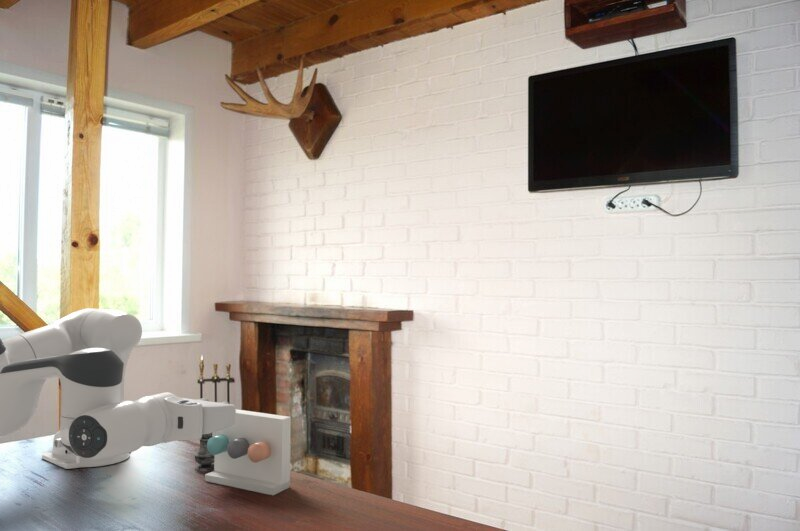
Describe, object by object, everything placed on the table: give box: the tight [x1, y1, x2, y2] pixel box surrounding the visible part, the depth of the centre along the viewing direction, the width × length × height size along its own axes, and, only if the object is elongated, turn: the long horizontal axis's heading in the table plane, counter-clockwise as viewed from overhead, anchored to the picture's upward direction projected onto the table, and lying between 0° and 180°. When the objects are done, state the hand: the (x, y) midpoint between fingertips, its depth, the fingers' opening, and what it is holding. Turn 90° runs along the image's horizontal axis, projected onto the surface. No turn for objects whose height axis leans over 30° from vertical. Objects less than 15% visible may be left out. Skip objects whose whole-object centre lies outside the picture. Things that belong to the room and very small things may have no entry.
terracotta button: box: [248, 441, 271, 463], centre depth 139 cm, size 4×3×4 cm
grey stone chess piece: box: [193, 433, 214, 472], centre depth 157 cm, size 6×6×12 cm
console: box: [204, 408, 292, 496], centre depth 145 cm, size 20×6×16 cm, turn 63°
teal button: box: [207, 434, 229, 455], centre depth 145 cm, size 4×3×4 cm
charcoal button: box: [227, 438, 250, 459], centre depth 142 cm, size 4×3×4 cm
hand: (215, 404), depth 127 cm, fingers open, 4 cm apart
